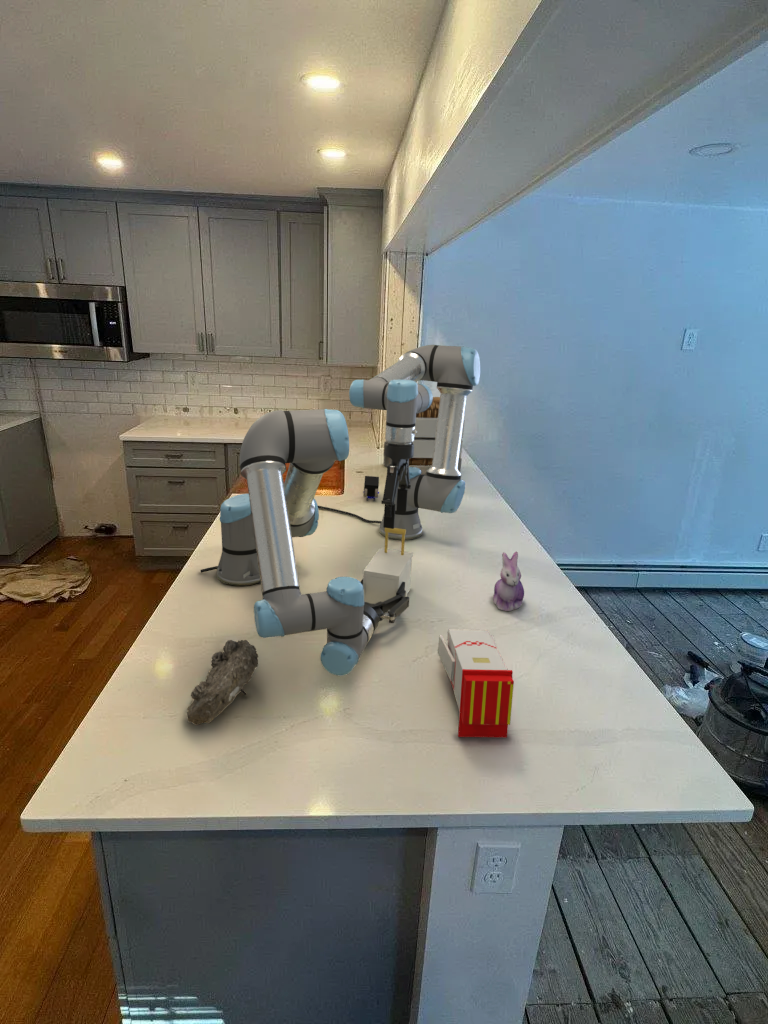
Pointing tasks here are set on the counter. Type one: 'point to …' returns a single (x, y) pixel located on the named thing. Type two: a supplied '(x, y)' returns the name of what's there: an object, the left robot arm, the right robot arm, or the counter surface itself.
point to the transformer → (425, 437)
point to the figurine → (509, 585)
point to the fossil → (223, 681)
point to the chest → (384, 586)
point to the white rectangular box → (389, 559)
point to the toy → (478, 682)
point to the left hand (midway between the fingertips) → (384, 583)
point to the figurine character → (371, 487)
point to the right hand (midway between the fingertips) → (395, 519)
